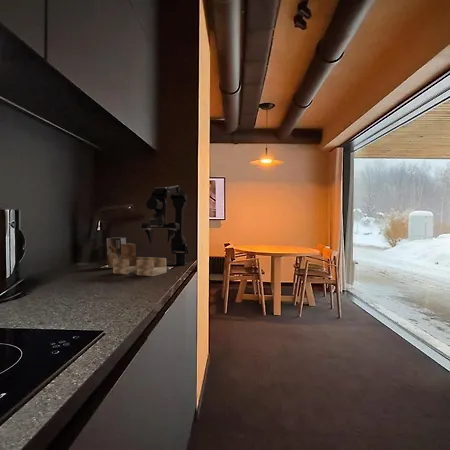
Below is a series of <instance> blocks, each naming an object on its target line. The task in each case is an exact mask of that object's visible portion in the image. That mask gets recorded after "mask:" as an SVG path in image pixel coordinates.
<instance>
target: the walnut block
mask: <svg viewBox="0 0 450 450" xmlns="http://www.w3.org/2000/svg"><path fill="white" fill-rule="evenodd" d="M136 244H137V243H127V244H121V259H129V267H132V266H136V257H137V255H136V253H137V251H136V249H137V246H136Z"/></svg>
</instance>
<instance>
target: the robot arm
mask: <svg viewBox="0 0 450 450" xmlns="http://www.w3.org/2000/svg"><path fill="white" fill-rule="evenodd" d="M168 198H170V200H171V202H172V204H171V205H172V206H173V208H174V210H175V211H174V213H175V214H174V222H169V223H167V217H168V214H167V207H168V201H167V199H168ZM188 200H189V198H188V195H187V192H186V191H185V190H184V189H182V188H181V187H180V185H171V186H165V187H164V186H163V187H161V186H158V187H154V188H153V190H152V192H151V195H150V197H149V199H147V202H146V209H148V210H150V211H154V213H153V216H152V217H150V218H148V222H147V223H146V222H141V224H140V229H141V230H142V231H144V232H145V233H146V235H147V238H148V241H149V244H150V245H151V244H153V238H154V237H153V236H154V235H153V234H154V229H166V230H167V245H169V244H170V250H171V251H170V252H171V254H175V255H174V259H175V261H174V263H173V265H174V266H186V265H187V264H188V262H186V255H188V254H189V255H190V253H189V252H190V249H189V246H188V243H187V239H186V237H185V236H184V227H185V226H184V224H185V222H184V221H185V220H184V217H185V216H184V212H185V209H186V207H187V205H188Z"/></svg>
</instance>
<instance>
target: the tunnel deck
mask: <svg viewBox="0 0 450 450" xmlns="http://www.w3.org/2000/svg"><path fill="white" fill-rule="evenodd" d="M167 270H168V269H167V257H148V256H147V257H146V256H145V257H144V256H136V266H132V267H129V259H113V268H112V271H113V274H118V275H136V276H144V277H145V276H146V277H147V276H148V277H154V276H158V275H162V274H166V273H167Z"/></svg>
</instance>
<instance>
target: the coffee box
mask: <svg viewBox="0 0 450 450" xmlns="http://www.w3.org/2000/svg"><path fill="white" fill-rule="evenodd" d="M121 244H128V242H127V237H107V238H106V255H107V259H106V260H107V268H108V267H109V268H111V269H113V259H121Z"/></svg>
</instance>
